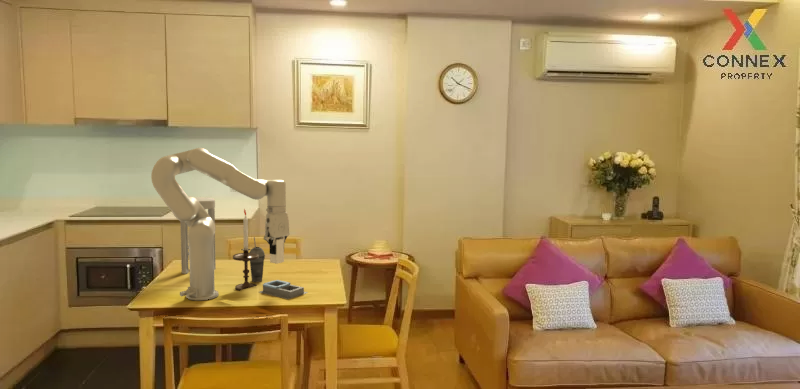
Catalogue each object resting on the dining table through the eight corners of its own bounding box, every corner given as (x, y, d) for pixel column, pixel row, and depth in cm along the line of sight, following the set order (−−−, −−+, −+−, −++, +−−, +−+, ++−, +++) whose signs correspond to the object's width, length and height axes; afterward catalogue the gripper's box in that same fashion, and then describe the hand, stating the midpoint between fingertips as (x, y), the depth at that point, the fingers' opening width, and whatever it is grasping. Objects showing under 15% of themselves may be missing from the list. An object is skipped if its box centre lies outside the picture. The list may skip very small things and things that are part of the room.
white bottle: (277, 263, 237) (276, 235, 236) (270, 262, 239) (269, 234, 238) (283, 261, 241) (283, 233, 239) (276, 260, 243) (276, 232, 241)
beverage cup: (260, 283, 256) (260, 239, 254) (245, 282, 257) (245, 238, 255) (267, 279, 263) (267, 236, 261) (253, 278, 265) (252, 235, 262)
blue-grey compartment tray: (288, 302, 230) (288, 291, 229) (258, 294, 239) (258, 284, 238) (308, 295, 240) (308, 285, 239) (278, 288, 249) (278, 278, 248)
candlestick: (242, 293, 241) (241, 210, 237) (228, 287, 248) (227, 207, 244) (264, 288, 249) (263, 208, 245) (250, 283, 256) (249, 205, 252)
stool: (175, 274, 268) (173, 200, 264) (192, 266, 283) (190, 196, 279) (206, 276, 265) (204, 201, 261) (221, 268, 281) (220, 197, 276)
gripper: (268, 213, 228) (268, 257, 230) (297, 208, 242) (297, 250, 244) (255, 211, 232) (255, 255, 234) (284, 206, 246) (284, 248, 248)
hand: (276, 252), depth 239 cm, fingers closed on white bottle, 4 cm apart
